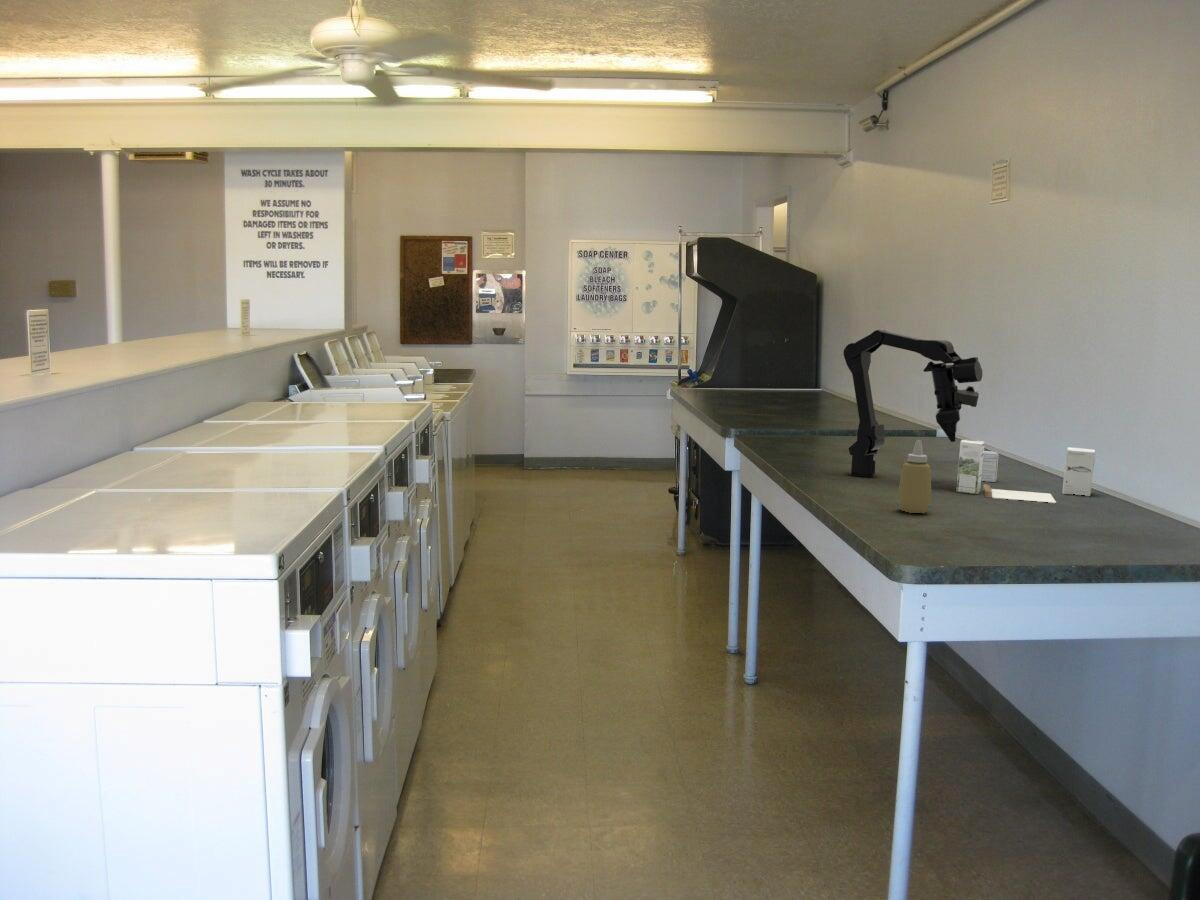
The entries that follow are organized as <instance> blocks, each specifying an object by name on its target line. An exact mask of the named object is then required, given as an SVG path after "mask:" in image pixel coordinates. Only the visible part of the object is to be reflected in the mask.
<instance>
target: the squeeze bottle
mask: <svg viewBox="0 0 1200 900" xmlns="http://www.w3.org/2000/svg"><path fill="white" fill-rule="evenodd" d="M927 462H928V455H927V454H924V452H923V443H922V439H916V441H915V444H914V447H913V450H912V453H909V454H907V462H904V463H903V464H902V470H901V474H900V481H899V485H898V490H897V501H898V503H899V508H900V511H901V510H902V511H901V512H903V511H905V512H904V513H906V512H910V513H909V514H911V513H922V514H926V512H927V510H928V508H929V505H930V503H931V501H932V479H931V477H932V476H931V475H932V473H931V472H932V471H931V469H932V468H931V466H930V465H929V464H928V463H927Z"/></svg>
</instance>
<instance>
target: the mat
mask: <svg viewBox="0 0 1200 900" xmlns="http://www.w3.org/2000/svg"><path fill="white" fill-rule="evenodd" d="M991 490H992V499H994V500H995V499H996V500H1006V499H1008V500H1010V501H1018V500H1024V501H1023V502H1030V501H1037V502H1036V503H1042V502H1048V503H1047V504H1055V503H1056V504H1057V501H1056V500H1055V498H1054V497H1053V495H1052V494H1051V493H1047V492H1035V491H1034V492H1033V491H1022V490H1021V491H1020V490H1007V489H998V488H991Z"/></svg>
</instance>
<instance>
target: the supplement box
mask: <svg viewBox="0 0 1200 900" xmlns="http://www.w3.org/2000/svg"><path fill="white" fill-rule="evenodd" d="M1065 453H1066V454H1065V461H1064V462H1065V463H1064V473H1063V479H1062V480H1063V481H1062V482H1063V483H1062V491H1061V493H1062V495H1073V494H1075V495H1074V496H1081V495H1085V496H1084V497H1089V496H1090V497H1091V492H1092V485H1093V484H1092V483H1093V473H1094V467H1095V466H1094V465H1095V457H1096V449H1091V448H1084V447H1083V448H1082V447H1073V446H1072V447H1071V446H1069V447H1068V446H1067V448H1066V452H1065Z"/></svg>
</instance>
